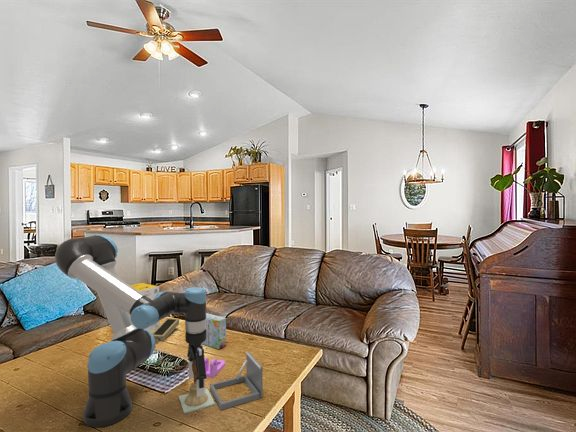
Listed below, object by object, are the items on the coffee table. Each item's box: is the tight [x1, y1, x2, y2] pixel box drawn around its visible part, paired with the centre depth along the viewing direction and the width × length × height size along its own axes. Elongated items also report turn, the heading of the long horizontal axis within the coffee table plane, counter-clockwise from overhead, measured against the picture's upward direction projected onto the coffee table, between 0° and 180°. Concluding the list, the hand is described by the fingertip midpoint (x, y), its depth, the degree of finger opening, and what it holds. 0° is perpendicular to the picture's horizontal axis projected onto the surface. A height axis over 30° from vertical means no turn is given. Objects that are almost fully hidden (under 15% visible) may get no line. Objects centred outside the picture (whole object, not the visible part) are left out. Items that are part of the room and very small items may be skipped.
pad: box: [178, 388, 216, 415], centre depth 123 cm, size 11×11×1 cm
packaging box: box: [129, 282, 161, 332], centre depth 192 cm, size 16×16×25 cm
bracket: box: [204, 357, 226, 379], centre depth 147 cm, size 13×6×7 cm, turn 163°
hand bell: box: [185, 360, 208, 406], centre depth 123 cm, size 8×8×16 cm
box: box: [151, 317, 180, 345], centre depth 184 cm, size 8×22×5 cm, turn 173°
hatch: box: [209, 350, 264, 411], centre depth 128 cm, size 16×15×12 cm
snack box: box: [201, 312, 227, 351], centre depth 174 cm, size 21×6×15 cm, turn 58°
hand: (196, 386), depth 123 cm, fingers open, 13 cm apart
